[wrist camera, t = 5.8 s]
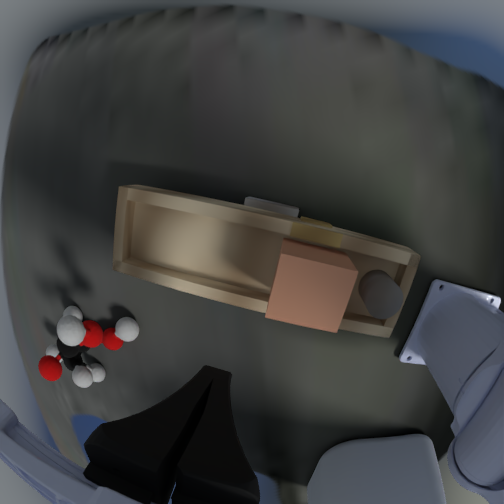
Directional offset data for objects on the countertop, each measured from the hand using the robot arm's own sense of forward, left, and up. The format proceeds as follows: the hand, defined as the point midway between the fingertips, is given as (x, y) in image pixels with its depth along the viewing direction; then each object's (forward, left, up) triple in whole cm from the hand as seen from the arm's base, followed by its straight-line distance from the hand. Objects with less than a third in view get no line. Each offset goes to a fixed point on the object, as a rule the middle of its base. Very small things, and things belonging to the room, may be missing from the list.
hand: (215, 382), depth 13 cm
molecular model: (+14, +8, -10) cm, 19 cm away
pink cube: (-4, -5, -7) cm, 9 cm away
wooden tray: (0, -4, -10) cm, 11 cm away
